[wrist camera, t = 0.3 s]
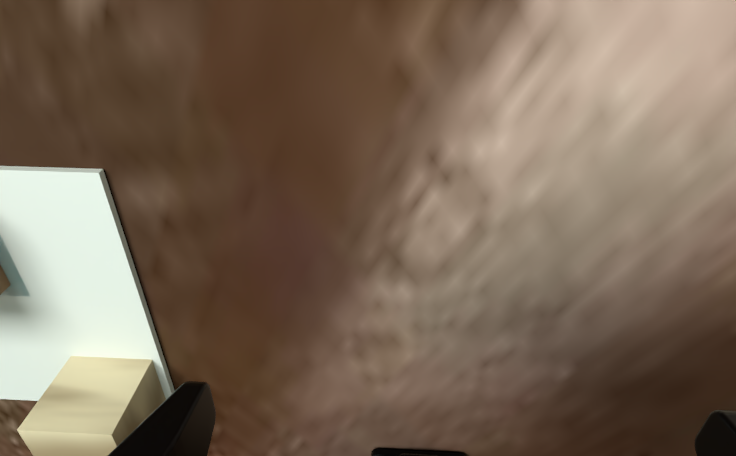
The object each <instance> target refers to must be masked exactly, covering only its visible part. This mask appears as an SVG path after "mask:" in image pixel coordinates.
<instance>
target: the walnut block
mask: <svg viewBox="0 0 736 456" xmlns="http://www.w3.org/2000/svg"><path fill="white" fill-rule="evenodd" d="M10 285H11V284H10V282H9V280H8V278H7V276H6V274H5V272H4V270H3V269H2V267H1V265H0V295H1V294H2V293H3V292H4V291H5V290H6V289H7V288H8V287H9V286H10Z"/></svg>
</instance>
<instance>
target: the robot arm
mask: <svg viewBox="0 0 736 456" xmlns="http://www.w3.org/2000/svg"><path fill="white" fill-rule="evenodd" d="M215 416H216V412H215V407H214V402H213V398H212V394H211V390H210V386H209V385H208V384H207V383H206V382H193V381H188V382H185V383H183V384H182V385H181V386H180V387H179V388H178V389H177V390H175V391H174V392H173V393H172V394H171V395H170V396H169V397H168V398H167V399H166V400H165V401H164V402H163V403H162V404H161V405H160V406H159V407H158V408H157V409H156V410H155V411H154V412H153V413H151V414H150V415H149V416H148V417H147V418H146V419H145V420H144V421H143V422H142V423H141V424H140V425H139V426H138V427H137V428H136V429H135V430H134V431H133V432H132V433H131V434H130V435H128V436H127V437H126V438H125V439H124V440H123V441H122V442H121V443H120V444H119V445H118V446H117V447H116V448H115V449H114V450H113V451H112V452H111V453H110V454H109V455H108V456H207V454H208V449H209V445H210V441H211V437H212V432H213V428H214V424H215ZM695 450H696V454H697V456H736V411H728V410H715V411H713V412H711V413H710V415H709V416H708V418H707V419H706V421H705V423H704V424H703V426H702V427H701V429H700V431H699V432H698V434H697V436H696V438H695ZM371 456H465V455H464V454H462V453H448V452H428V451H409V450H390V449H375V450H373V451H372V453H371Z"/></svg>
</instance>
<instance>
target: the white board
mask: <svg viewBox="0 0 736 456" xmlns="http://www.w3.org/2000/svg"><path fill="white" fill-rule="evenodd" d="M0 265H1V267H2V269H3V270H4V272H5V274H6V276H7V278H8V280H9V282H10V284H11V285H10V286H9V287H8V288H7V289H6V290H5V291H4V292H3V293H2V294H1V295H0V399H13V400H33V401H39V399H40V398H41V396H42V395H43V394H44V392H45V391H46V390H47V388H48V387H49V385H50V384H51V383H52V381H53V380H54V379H55V377H56V376H57V374H58V373H59V372H60V370H61V369H62V368H63V366H64V365H65V363H66V362H67V361H68V359H69V358H70V357H71V356H83V357H105V358H127V359H149V360H153V363H154V366H155V369H156V372H157V375H158V378H159V381H160V384H161V386H162V389H163V392H164V395H165V398H166V399H167V398H168V397H169V396H170V395H171V394H172V393H173V392H174V391H175V390H174V387H173V384H172V381H171V378H170V375H169V371H168V368H167V365H166V362H165V359H164V356H163V353H162V350H161V347H160V344H159V341H158V337H157V334H156V331H155V328H154V325H153V322H152V319H151V316H150V313H149V310H148V307H147V303H146V300H145V297H144V294H143V291H142V288H141V285H140V282H139V279H138V276H137V272H136V269H135V266H134V263H133V260H132V257H131V254H130V251H129V248H128V245H127V242H126V238H125V235H124V232H123V229H122V226H121V223H120V220H119V217H118V214H117V211H116V208H115V204H114V201H113V198H112V195H111V192H110V189H109V186H108V183H107V180H106V177H105V173H104V170H103V169H87V168H53V167H20V166H0Z"/></svg>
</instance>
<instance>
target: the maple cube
mask: <svg viewBox="0 0 736 456" xmlns="http://www.w3.org/2000/svg"><path fill="white" fill-rule="evenodd" d="M165 400H166V398H165V395H164V392H163V389H162V386H161V384H160V381H159V378H158V375H157V372H156V369H155V366H154V363H153V360H149V359H127V358H105V357H83V356H71V357H70V358H69V359H68V361H67V362H66V363H65V365H64V366H63V368H62V369H61V370H60V372H59V373H58V374H57V376H56V377H55V379H54V380H53V381H52V383H51V384H50V385H49V387H48V388H47V390H46V391H45V392H44V394H43V395H42V396H41V398H40V399H39V401H38V402H37V403H36V405H35V406H34V407H33V409H32V410H31V412H30V413H29V414H28V416H27V417H26V418H25V420H24V421H23V423H22V424H21V425H20V427H19V428H18V429H17V431H18V432H19V434H20V435H21V437H22V439H23V440H24V442H25V443H26V445H27V446H28V448H29V449H30V451H31V453H32V454H33V456H108V455H109V454H110V453H111V452H112V451H113V450H114V449H115V448H116V447H117V446H118V445H119V444H120V443H121V442H122V441H123V440H124V439H125V438H126V437H127V436H128V435H130V434H131V433H132V432H133V431H134V430H135V429H136V428H137V427H138V426H139V425H140V424H141V423H142V422H143V421H144V420H145V419H146V418H147V417H148V416H149V415H150V414H151V413H153V412H154V411H155V410H156V409H157V408H158V407H159V406H160V405H161V404H162V403H163V402H164V401H165Z"/></svg>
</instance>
